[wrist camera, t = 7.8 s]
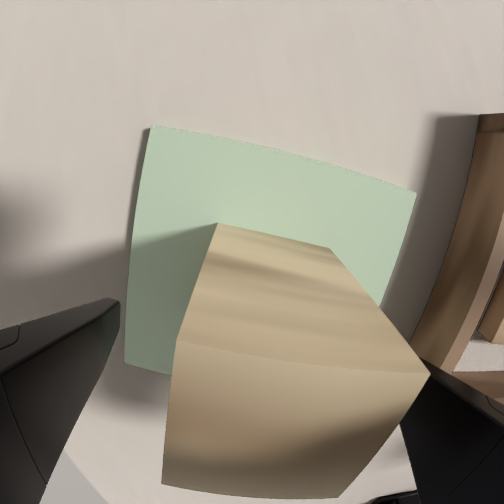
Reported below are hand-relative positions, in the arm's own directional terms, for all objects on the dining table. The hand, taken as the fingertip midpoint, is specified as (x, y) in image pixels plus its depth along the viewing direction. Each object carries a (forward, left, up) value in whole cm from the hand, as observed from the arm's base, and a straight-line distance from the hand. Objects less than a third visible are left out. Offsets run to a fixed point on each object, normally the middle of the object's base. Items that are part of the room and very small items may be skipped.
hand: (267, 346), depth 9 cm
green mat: (0, 0, -4) cm, 4 cm away
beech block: (0, 0, -4) cm, 4 cm away
